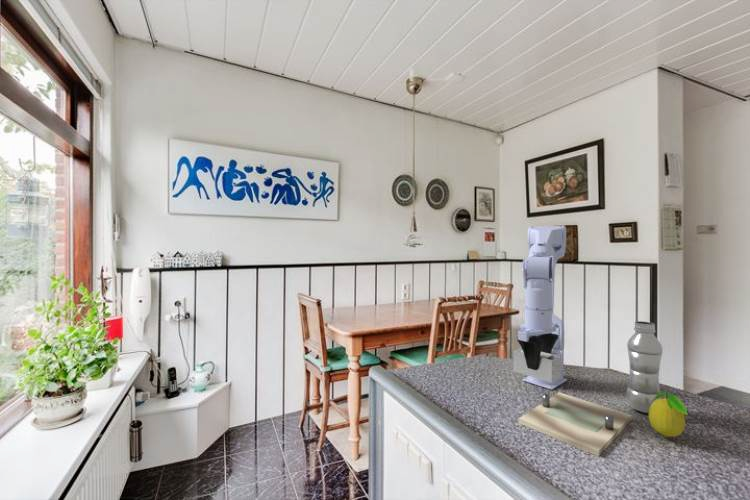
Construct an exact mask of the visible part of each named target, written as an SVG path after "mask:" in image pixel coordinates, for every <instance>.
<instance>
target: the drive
mask: <svg viewBox="0 0 750 500" xmlns="http://www.w3.org/2000/svg"><path fill="white" fill-rule="evenodd" d="M512 353H513V358H512V359H513V363H512V365H513V368H512V371H513V372H514V373H519V374H521V375H524V376H527V377H528V376H531V377H534V378H538V379H541V380H544V381H548V382H551V383H552V382H554V381H556V380H558V379H559V378H561V356H559V355H555V354H550V353H546V352H542V351H541V354H540V360H539V367H538V370H533V369H529V368H528V367H527V364H526V360H525V356H524V353H523V350H522V348H521V347H519V348H516V349H514V350H513V351H512Z"/></svg>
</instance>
